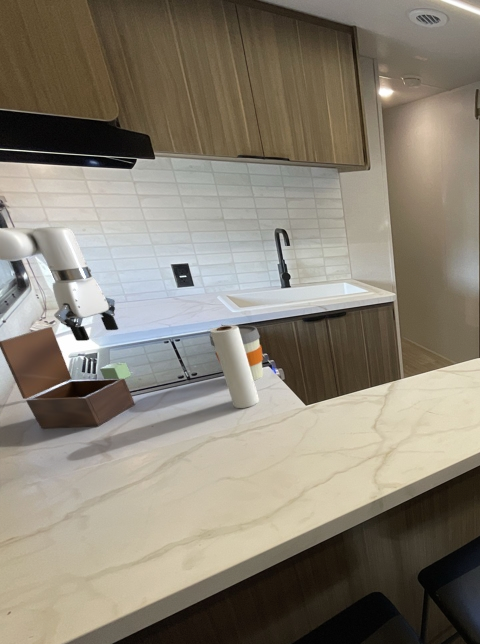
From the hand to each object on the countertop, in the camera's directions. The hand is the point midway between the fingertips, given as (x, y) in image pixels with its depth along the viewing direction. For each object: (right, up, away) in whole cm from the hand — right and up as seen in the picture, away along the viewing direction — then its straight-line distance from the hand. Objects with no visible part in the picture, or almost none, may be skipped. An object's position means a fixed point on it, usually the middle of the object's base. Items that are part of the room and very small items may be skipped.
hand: (98, 334), depth 116 cm
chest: (+11, -22, -13) cm, 28 cm away
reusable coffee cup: (+38, -13, +9) cm, 41 cm away
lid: (+5, -8, -19) cm, 21 cm away
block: (-3, -13, +9) cm, 16 cm away
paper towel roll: (+48, -19, -7) cm, 52 cm away
